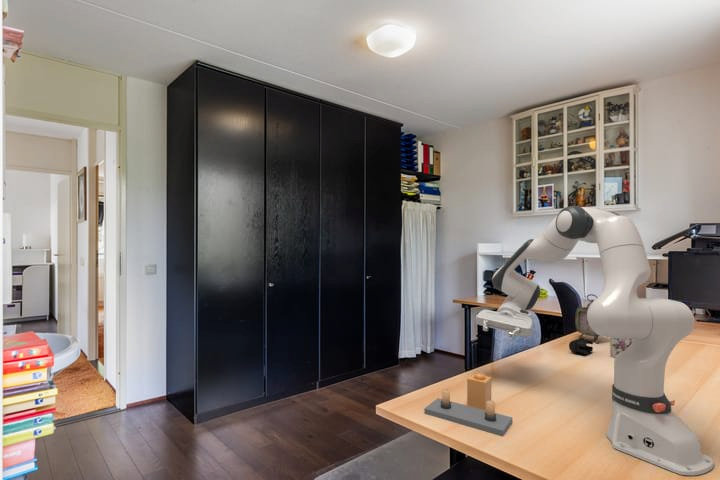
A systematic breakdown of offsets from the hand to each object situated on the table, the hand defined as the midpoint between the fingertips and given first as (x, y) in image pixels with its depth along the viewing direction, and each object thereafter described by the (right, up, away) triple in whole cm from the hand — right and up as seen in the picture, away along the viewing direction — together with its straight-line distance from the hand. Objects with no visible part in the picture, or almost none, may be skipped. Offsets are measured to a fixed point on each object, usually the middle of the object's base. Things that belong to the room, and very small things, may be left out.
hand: (497, 332), depth 143 cm
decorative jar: (+74, -21, +37) cm, 85 cm away
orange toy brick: (-11, -21, -14) cm, 27 cm away
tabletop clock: (+75, -21, +69) cm, 104 cm away
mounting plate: (-17, -21, -23) cm, 35 cm away
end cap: (+56, -21, +46) cm, 75 cm away
